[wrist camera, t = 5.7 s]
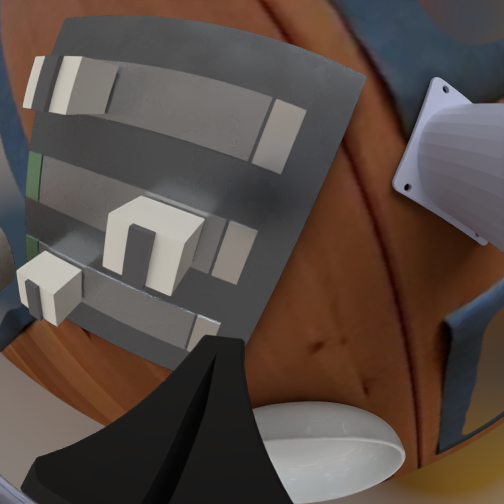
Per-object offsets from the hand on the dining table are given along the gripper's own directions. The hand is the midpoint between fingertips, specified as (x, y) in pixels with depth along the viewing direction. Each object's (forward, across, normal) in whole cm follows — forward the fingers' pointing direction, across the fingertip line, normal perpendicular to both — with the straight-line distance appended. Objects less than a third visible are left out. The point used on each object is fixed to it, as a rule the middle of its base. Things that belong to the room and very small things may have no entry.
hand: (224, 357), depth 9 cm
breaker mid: (+7, +5, -2) cm, 9 cm away
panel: (+9, +8, -2) cm, 12 cm away
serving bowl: (+10, -6, +21) cm, 24 cm away
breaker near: (+7, +10, -11) cm, 17 cm away
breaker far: (+7, +15, +3) cm, 17 cm away
